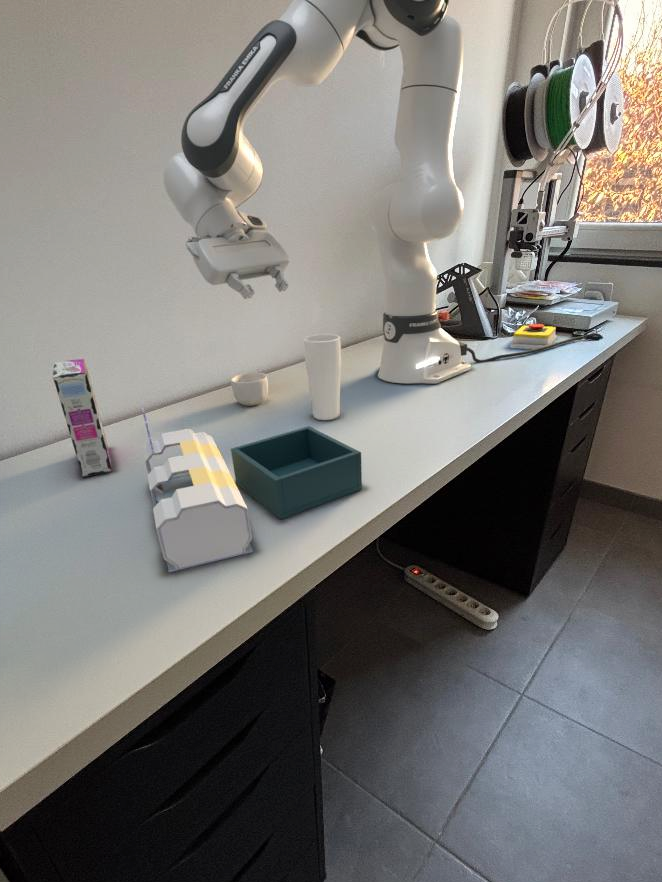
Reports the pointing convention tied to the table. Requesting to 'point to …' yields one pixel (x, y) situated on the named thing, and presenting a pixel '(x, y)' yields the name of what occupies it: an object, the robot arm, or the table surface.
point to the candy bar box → (82, 416)
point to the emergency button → (533, 337)
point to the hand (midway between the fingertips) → (267, 292)
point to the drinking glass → (324, 374)
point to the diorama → (195, 502)
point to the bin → (297, 470)
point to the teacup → (250, 388)
